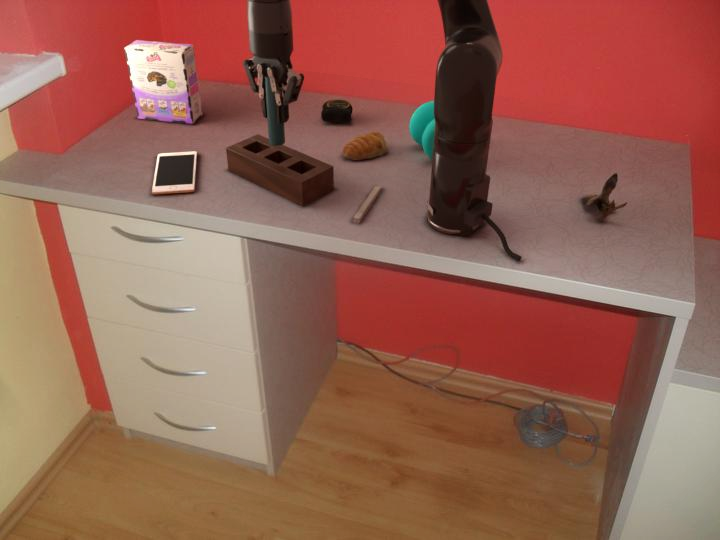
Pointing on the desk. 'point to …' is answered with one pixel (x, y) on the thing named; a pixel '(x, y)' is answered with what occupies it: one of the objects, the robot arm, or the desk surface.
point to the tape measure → (336, 111)
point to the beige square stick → (367, 204)
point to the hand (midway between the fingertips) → (275, 119)
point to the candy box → (164, 81)
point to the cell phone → (175, 173)
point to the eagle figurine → (604, 198)
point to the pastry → (365, 146)
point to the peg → (273, 117)
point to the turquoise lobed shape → (424, 127)
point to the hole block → (281, 169)
